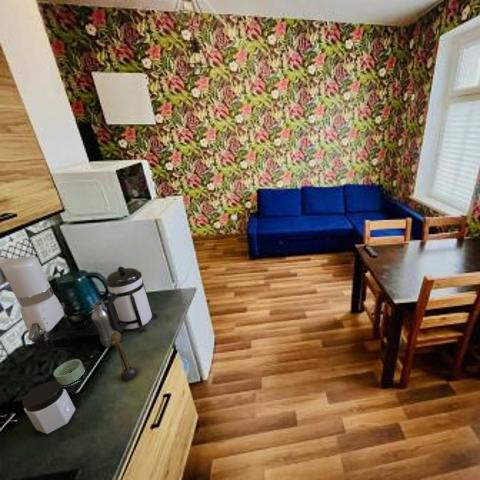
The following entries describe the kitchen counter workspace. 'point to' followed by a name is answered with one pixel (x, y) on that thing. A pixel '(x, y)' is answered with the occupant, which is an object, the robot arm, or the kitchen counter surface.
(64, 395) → the jar
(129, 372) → the wooden tabletop sculpture
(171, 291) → the kitchen counter surface
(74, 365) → the green cup
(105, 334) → the plastic bottle
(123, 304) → the coffee press
